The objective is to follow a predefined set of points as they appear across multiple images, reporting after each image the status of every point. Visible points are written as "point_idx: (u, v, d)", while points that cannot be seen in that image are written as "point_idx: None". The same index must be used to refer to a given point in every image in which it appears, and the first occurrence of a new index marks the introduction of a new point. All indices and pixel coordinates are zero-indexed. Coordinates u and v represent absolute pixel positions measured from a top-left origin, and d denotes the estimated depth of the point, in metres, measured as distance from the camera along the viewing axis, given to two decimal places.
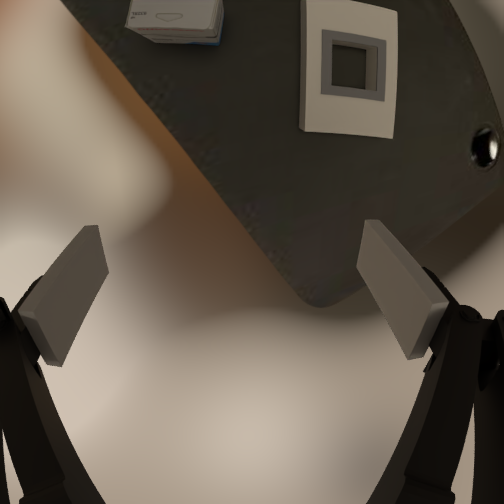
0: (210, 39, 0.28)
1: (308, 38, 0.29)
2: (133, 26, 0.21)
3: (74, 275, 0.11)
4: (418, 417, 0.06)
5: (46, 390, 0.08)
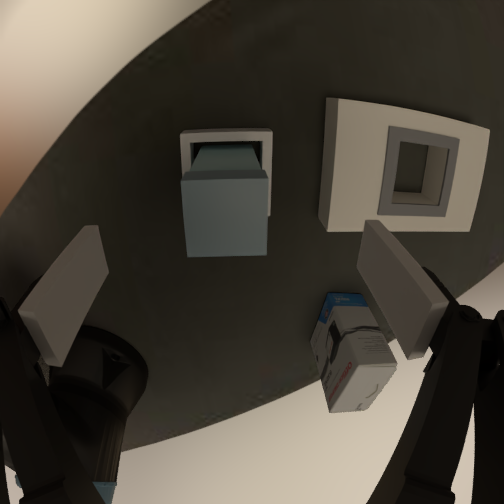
0: None
1: None
2: (368, 407, 0.30)
3: (74, 275, 0.11)
4: (418, 417, 0.06)
5: (46, 390, 0.08)
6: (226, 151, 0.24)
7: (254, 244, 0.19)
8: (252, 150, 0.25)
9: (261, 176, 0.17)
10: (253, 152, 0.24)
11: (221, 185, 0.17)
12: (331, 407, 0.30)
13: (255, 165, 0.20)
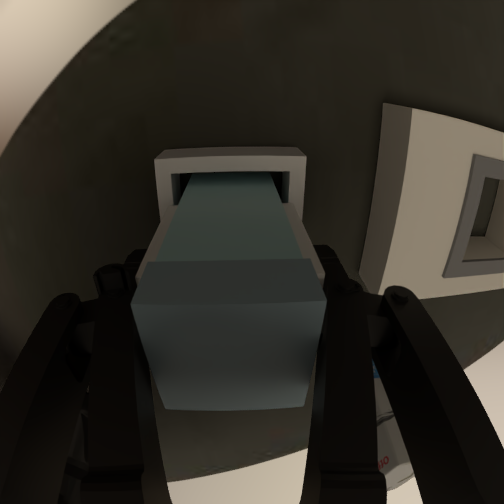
0: None
1: (448, 293, 0.19)
2: None
3: None
4: (319, 403, 0.07)
5: (147, 367, 0.09)
6: (230, 190, 0.15)
7: (284, 396, 0.09)
8: (273, 188, 0.15)
9: (309, 289, 0.08)
10: (276, 193, 0.15)
11: (221, 315, 0.07)
12: None
13: (286, 236, 0.11)
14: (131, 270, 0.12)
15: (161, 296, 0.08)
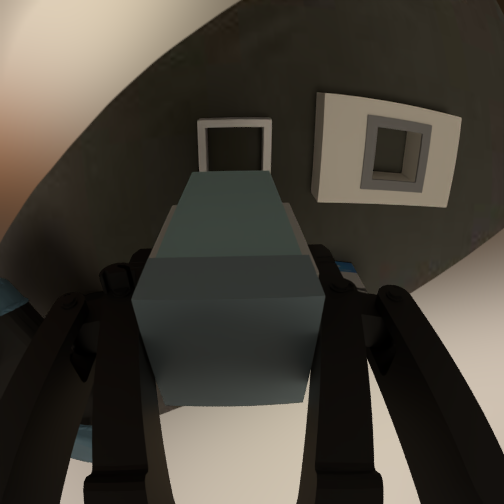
0: None
1: (368, 201, 0.34)
2: None
3: None
4: (314, 403, 0.07)
5: None
6: (230, 188, 0.15)
7: (283, 392, 0.10)
8: (273, 186, 0.15)
9: (307, 285, 0.08)
10: (275, 191, 0.15)
11: (220, 310, 0.08)
12: None
13: (286, 233, 0.11)
14: (136, 269, 0.12)
15: (161, 291, 0.08)
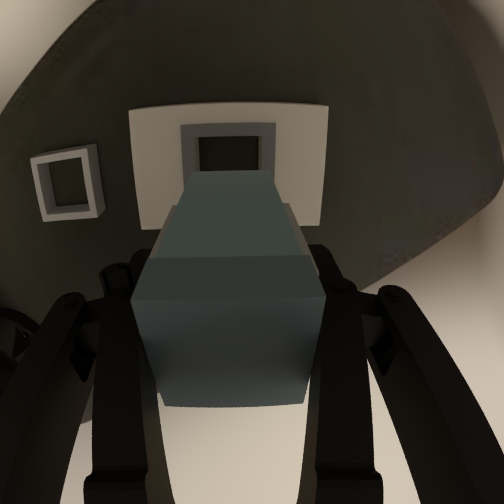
0: None
1: None
2: None
3: None
4: (314, 403, 0.07)
5: None
6: (230, 187, 0.15)
7: (284, 393, 0.09)
8: (273, 185, 0.15)
9: (308, 285, 0.08)
10: (275, 191, 0.15)
11: (220, 311, 0.08)
12: None
13: (286, 233, 0.11)
14: (136, 269, 0.12)
15: (161, 292, 0.08)
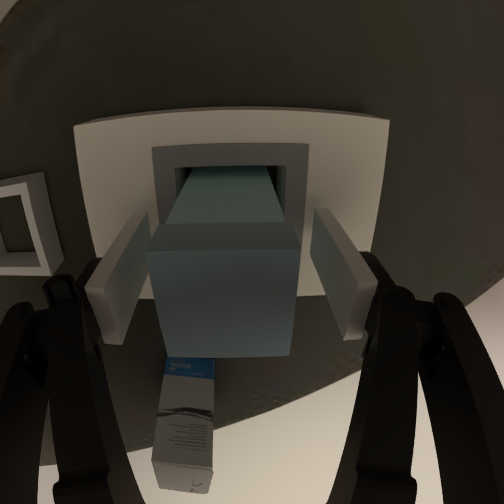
0: (213, 406, 0.25)
1: None
2: (206, 492, 0.22)
3: (131, 256, 0.13)
4: (361, 406, 0.07)
5: (103, 373, 0.09)
6: (228, 175, 0.17)
7: (271, 343, 0.11)
8: (266, 173, 0.17)
9: (287, 242, 0.10)
10: (268, 177, 0.17)
11: (216, 260, 0.10)
12: (158, 484, 0.22)
13: (274, 208, 0.13)
14: (87, 279, 0.11)
15: (169, 246, 0.10)
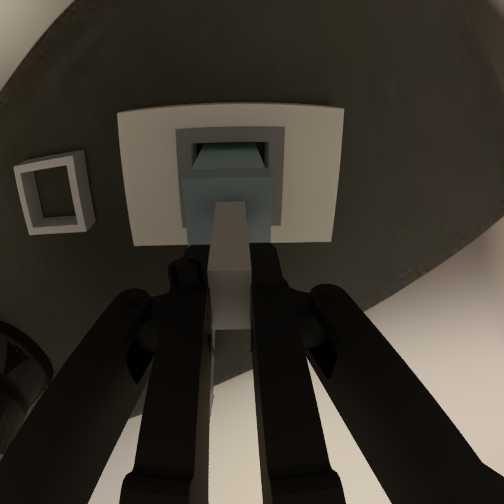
0: None
1: None
2: None
3: None
4: (259, 407, 0.07)
5: (209, 366, 0.09)
6: (229, 149, 0.24)
7: None
8: (255, 148, 0.24)
9: (265, 175, 0.17)
10: (256, 150, 0.23)
11: (224, 184, 0.16)
12: None
13: (259, 163, 0.20)
14: None
15: (196, 177, 0.16)
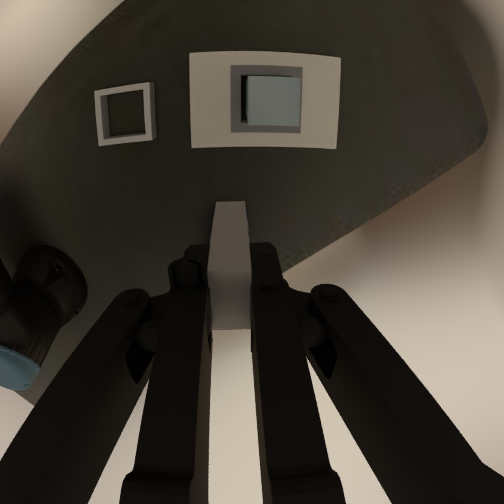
0: None
1: (242, 144, 0.37)
2: None
3: None
4: (258, 407, 0.07)
5: (209, 366, 0.09)
6: None
7: (291, 118, 0.27)
8: None
9: None
10: None
11: (272, 80, 0.25)
12: None
13: None
14: None
15: None
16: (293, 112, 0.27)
